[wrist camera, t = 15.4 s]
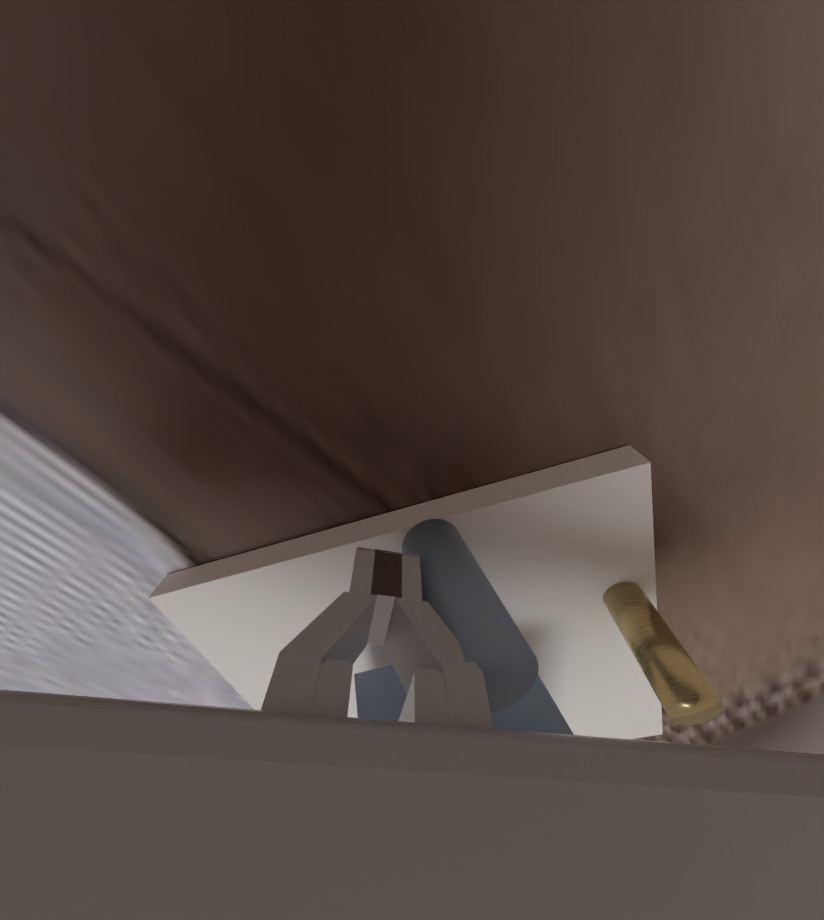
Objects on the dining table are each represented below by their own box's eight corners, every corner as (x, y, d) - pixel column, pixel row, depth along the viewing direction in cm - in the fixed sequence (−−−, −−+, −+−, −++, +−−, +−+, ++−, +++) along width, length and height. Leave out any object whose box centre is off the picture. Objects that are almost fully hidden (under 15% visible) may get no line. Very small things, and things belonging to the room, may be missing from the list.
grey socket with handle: (329, 537, 11) (332, 687, 7) (521, 502, 12) (635, 611, 8) (372, 777, 16) (392, 960, 11) (508, 736, 17) (575, 888, 13)
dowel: (601, 586, 13) (668, 701, 10) (640, 577, 13) (724, 692, 10) (604, 611, 14) (669, 728, 10) (642, 603, 14) (721, 720, 10)
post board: (167, 574, 15) (2, 779, 9) (629, 444, 12) (839, 618, 6) (332, 762, 22) (302, 946, 16) (648, 708, 19) (754, 907, 13)
